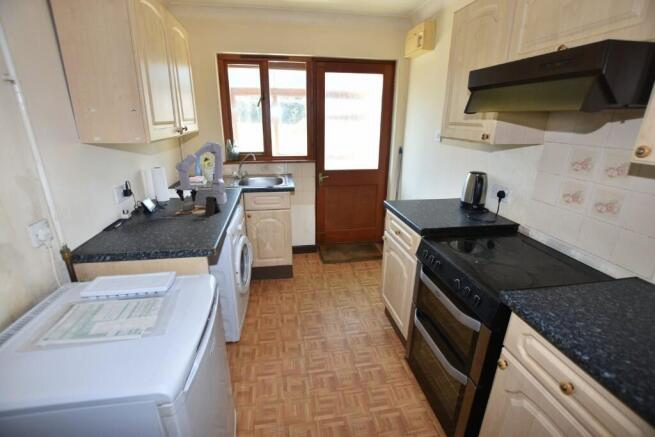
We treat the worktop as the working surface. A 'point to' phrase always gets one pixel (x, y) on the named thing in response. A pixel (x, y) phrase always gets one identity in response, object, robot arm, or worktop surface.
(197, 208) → the board
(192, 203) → the bar
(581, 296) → the worktop surface
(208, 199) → the phone stand
